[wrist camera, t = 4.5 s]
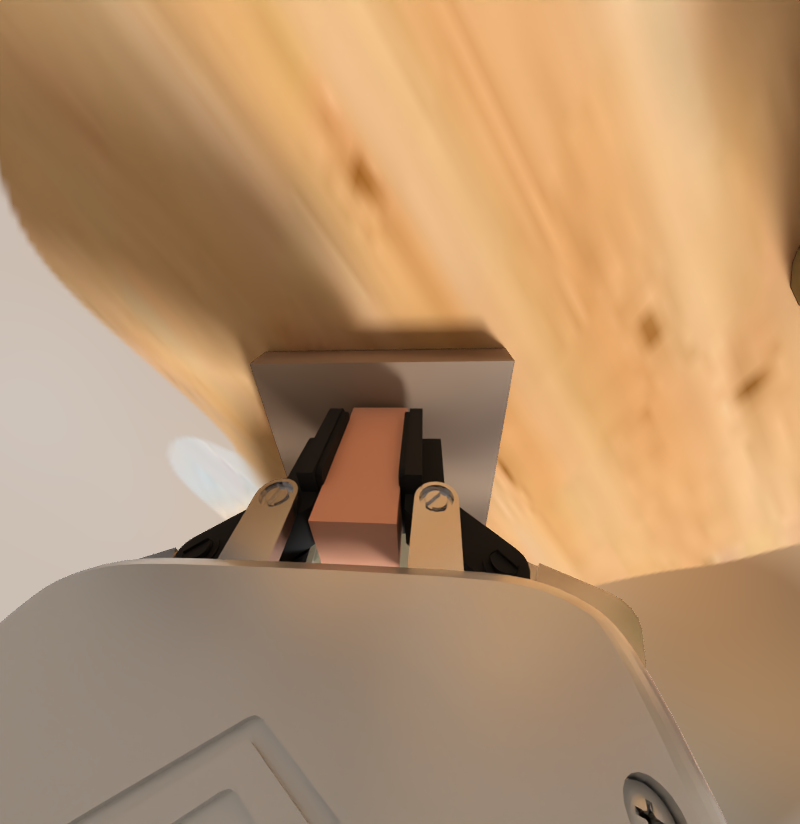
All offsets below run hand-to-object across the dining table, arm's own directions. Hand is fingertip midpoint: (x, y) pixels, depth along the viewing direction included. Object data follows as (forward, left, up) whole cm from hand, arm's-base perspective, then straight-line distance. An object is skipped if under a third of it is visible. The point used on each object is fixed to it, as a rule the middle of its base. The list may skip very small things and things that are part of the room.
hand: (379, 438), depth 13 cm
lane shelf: (+6, 0, -3) cm, 7 cm away
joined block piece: (+5, 0, -1) cm, 5 cm away
